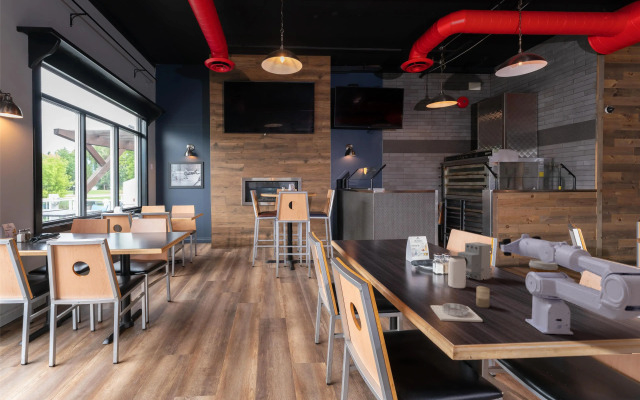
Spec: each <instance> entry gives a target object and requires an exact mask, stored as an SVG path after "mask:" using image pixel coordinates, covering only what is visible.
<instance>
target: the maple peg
mask: <svg viewBox="0 0 640 400" xmlns="http://www.w3.org/2000/svg"><path fill="white" fill-rule="evenodd" d="M475 292H476V293H475V294H476V296H475V297H476V298H475V305H476V306H477V307H479V308H483V309H488V308H490V298H491V297H490V294H491V293H490V287H487V286H482V285H481V286H479V285H478V286H476V291H475Z"/></svg>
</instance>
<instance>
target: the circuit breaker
mask: <svg viewBox="0 0 640 400" xmlns="http://www.w3.org/2000/svg"><path fill="white" fill-rule="evenodd" d="M492 246H493V245H492V244H489V243H484V242H466V243H465V244H464V247H465V248H464V251H457V256H462V257H465V261H466V276H467V277H466V278H469V277H470V279H473V280H476V281H483V279H484V280H489V279H492V276H491V275H492V271H493V268H492V267H491V259H492V258H491V256H492V255H493V247H492Z"/></svg>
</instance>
